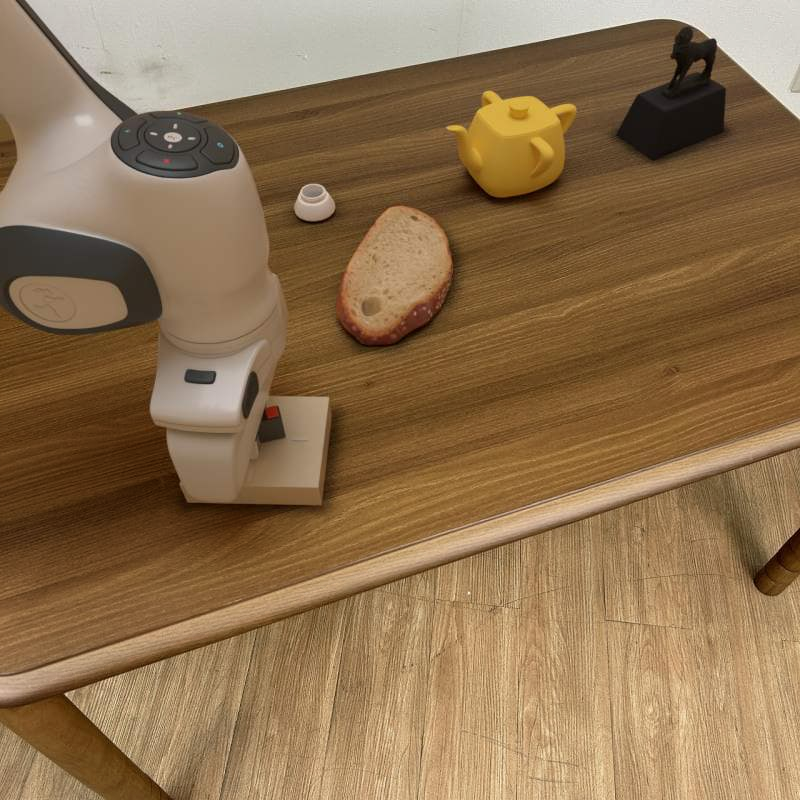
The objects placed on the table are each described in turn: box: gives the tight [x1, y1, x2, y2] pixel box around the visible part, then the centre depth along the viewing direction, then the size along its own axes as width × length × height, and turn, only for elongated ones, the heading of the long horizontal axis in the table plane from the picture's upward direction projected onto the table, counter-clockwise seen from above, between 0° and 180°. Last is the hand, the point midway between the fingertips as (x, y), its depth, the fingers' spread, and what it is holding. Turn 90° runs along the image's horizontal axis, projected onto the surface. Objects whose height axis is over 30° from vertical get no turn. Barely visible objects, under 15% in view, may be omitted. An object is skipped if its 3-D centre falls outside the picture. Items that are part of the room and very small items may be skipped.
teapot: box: [445, 90, 578, 198], centre depth 92 cm, size 14×13×10 cm
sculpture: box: [615, 26, 727, 161], centre depth 96 cm, size 8×13×15 cm, turn 119°
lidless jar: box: [293, 183, 336, 222], centre depth 91 cm, size 5×3×5 cm
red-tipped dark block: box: [257, 405, 286, 443], centre depth 65 cm, size 5×1×3 cm, turn 107°
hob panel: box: [179, 395, 333, 506], centre depth 68 cm, size 12×10×3 cm
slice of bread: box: [335, 205, 454, 346], centre depth 83 cm, size 18×18×4 cm
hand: (255, 436), depth 66 cm, fingers closed on red-tipped dark block, 2 cm apart
